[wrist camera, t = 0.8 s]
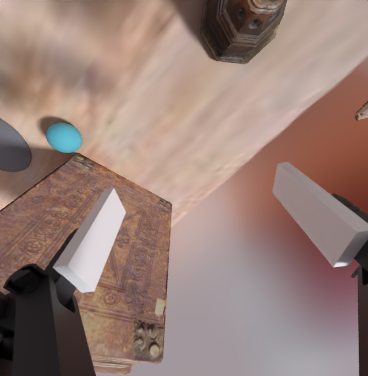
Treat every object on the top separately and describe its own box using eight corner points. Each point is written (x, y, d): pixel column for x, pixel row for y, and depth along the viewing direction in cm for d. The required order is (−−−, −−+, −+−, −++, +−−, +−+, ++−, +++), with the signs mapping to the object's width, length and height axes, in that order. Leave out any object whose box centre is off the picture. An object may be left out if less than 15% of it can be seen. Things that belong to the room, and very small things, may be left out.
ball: (52, 121, 32) (31, 129, 27) (79, 118, 31) (62, 124, 27) (67, 148, 35) (50, 159, 30) (91, 145, 34) (78, 155, 30)
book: (172, 204, 44) (164, 363, 20) (155, 223, 48) (130, 374, 24) (77, 152, 35) (-160, 327, 11) (66, 181, 39) (-125, 355, 15)
